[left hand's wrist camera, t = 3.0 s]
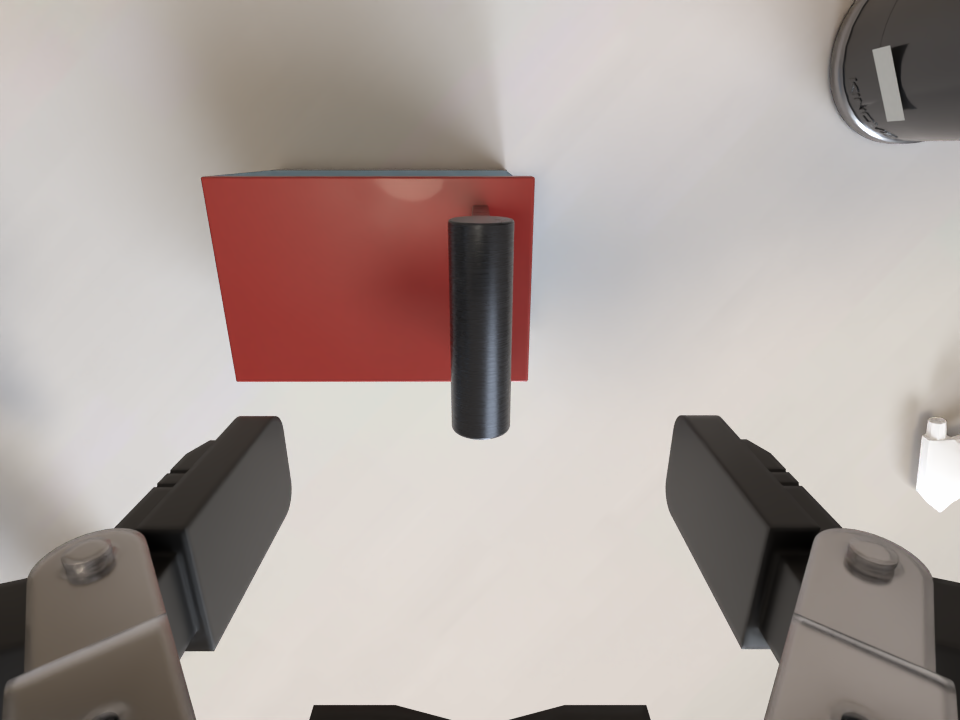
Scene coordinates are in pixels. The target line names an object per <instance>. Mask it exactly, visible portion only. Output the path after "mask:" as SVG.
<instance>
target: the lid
mask: <svg viewBox="0 0 960 720" xmlns="http://www.w3.org/2000/svg"><path fill="white" fill-rule="evenodd" d="M201 181H202V187H203V193H204V198H205V204H206V210H207V216H208V221H209V227H210V233H211V238H212V244H213V250H214V255H215V261H216V267H217V273H218V278H219V284H220V290H221V295H222V301H223V307H224V312H225V318H226V324H227V330H228V335H229V341H230V347H231V352H232V358H233V364H234V369H235V375H236V381H238V382H370V381H451V403H452V427H453V429H454V431H455V432H456V433H457V434H459V435H461V436H463V437H466V438H470V439H479V440H483V439H492V438H496V437H499V436H501V435H503V434H505V433H506V432H507V431H508V429H509V427H510V394H511V381H527V380H528V360H529V331H530V302H531V273H532V244H533V215H534V186H535V178H534V177H532V176H205V177H201Z"/></svg>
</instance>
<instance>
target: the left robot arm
mask: <svg viewBox="0 0 960 720" xmlns="http://www.w3.org/2000/svg"><path fill="white" fill-rule="evenodd" d="M830 84H831V91H832V95H833V99H834V102H835V105H836V107H837V109H838V111H839V113H840V115H841V116H842V118H843V119H844V121H845V122H846V123H847V124H848V125H849V126H850V127H851V128H852V129H853V130H854V131H856V132H857V133H858V134H860V135H862V136H864V137H865V138H868V139H870V140H873V141H877V142H881V143H890V144H903V143H917V142H923V141H960V0H856V1H855V3H854V4H853V6H852V7H851V9H850V10H849V12H848V14H847V15H846V17H845V19H844V21H843V23H842V25H841V27H840V30H839V32H838V35H837V37H836V40H835V44H834V47H833V52H832V57H831V64H830ZM666 499H667V504H668V508H669V511H670V513H671V516H672V517H673V519H674V521H675V523H676V525H677V527H678V529H679V531H680V533H681V535H682V536H683V538H684V540H685V542H686V544H687V546H688V548H689V550H690V552H691V554H692V555H693V557H694V559H695V561H696V563H697V565H698V567H699V569H700V571H701V573H702V574H703V576H704V578H705V580H706V582H707V584H708V586H709V588H710V590H711V592H712V593H713V595H714V597H715V599H716V601H717V603H718V605H719V607H720V609H721V611H722V612H723V614H724V616H725V618H726V620H727V622H728V624H729V626H730V628H731V630H732V631H733V633H734V635H735V637H736V639H737V641H738V643H739V645H740V647H741V649H771V651H772V652H773V654H774V656H775V657H776V659H777V661H778V663H779V667H778V671H777V674H776V678H775V682H774V685H773V689H772V692H771V696H770V700H769V703H768V707H767V711H766V714H765V718H764V720H960V583H957V582H952V581H948V580H943V579H938V578H933V577H932V576H931V574H930V572H929V570H928V569H927V567H926V566H925V565H924V564H923V563H922V562H921V561H920V560H919V559H918V558H917V557H915V556H914V555H913V554H912V553H910V552H909V551H907V550H906V549H904V548H903V547H901V546H899V545H897V544H895V543H894V542H891V541H889V540H887V539H885V538H882V537H880V536H877V535H874V534H871V533H868V532H864V531H859V530H855V529H847V528H842V527H841V526H840V525H839V524H838V523H837V522H836V521H835V520H834V519H833V518H832V517H831V516H830V515H829V514H828V513H827V511H826V510H825V509H824V508H823V507H822V506H821V505H820V504H819V503H818V502H817V501H816V500H815V499H814V498H813V497H812V496H811V495H810V494H809V493H808V492H807V491H806V490H805V489H804V488H803V487H802V486H799V482H798V481H797V480H796V479H795V478H794V477H793V476H792V475H791V474H790V473H789V472H786V469H785V468H784V467H783V466H782V465H781V464H780V463H779V462H778V461H777V460H776V459H775V457H774V456H773V455H772V454H771V453H769V452H768V451H766V450H764V449H762V448H761V447H759V446H757V445H755V444H754V443H752V442H750V441H748V440H747V439H740V438H739V437H738V436H737V435H736V434H735V433H734V431H733V430H732V429H731V428H730V427H729V426H728V425H727V424H726V423H725V421H724V420H723V419H722V418H721V417H720V416H716V415H681V416H679V417H678V418H677V419H676V421H675V425H674V430H673V436H672V443H671V450H670V457H669V464H668V471H667V478H666ZM290 501H291V478H290V471H289V464H288V458H287V451H286V444H285V437H284V430H283V425H282V422H281V420H280V419H279V418H278V417H277V416H239V417H237V418H236V419H235V420H234V421H233V422H232V423H231V424H230V425H229V426H228V427H227V429H226V430H225V431H224V432H223V433H222V434H221V435H220V436H219V437H218V438H217V439H216V440H210V441H208V442H206V443H205V444H203V445H201V446H199V447H198V448H196V449H194V450H192V451H191V452H189V453H187V454H186V455H185V456H184V457H183V458H182V459H181V460H180V461H179V462H178V463H177V464H176V465H175V466H174V467H173V468H172V469H171V470H170V474H166V475H165V476H164V477H163V478H162V479H161V480H160V481H159V483H158V484H157V487H154V488H153V489H152V490H151V491H150V492H149V493H148V494H147V495H146V496H145V497H144V498H143V499H142V500H141V501H140V502H139V503H138V504H137V505H136V506H135V507H134V508H133V509H132V510H131V511H130V512H129V513H128V514H127V515H126V516H125V518H124V519H123V520H122V521H121V522H120V523H119V524H118V525H117V526H116V527H115V528H113V529H105V530H101V531H96V532H92V533H89V534H86V535H83V536H80V537H78V538H75V539H73V540H71V541H69V542H66V543H65V544H63V545H61V546H59V547H57V548H56V549H54V550H53V551H51V552H50V553H48V554H47V555H46V556H45V557H43V558H42V559H41V560H40V561H39V562H38V563H37V564H36V565H35V566H34V567H33V569H32V570H31V572H30V574H29V576H28V578H26V579H21V580H16V581H12V582H7V583H2V584H0V720H196V718H195V714H194V711H193V707H192V703H191V700H190V696H189V692H188V689H187V685H186V682H185V678H184V674H183V671H182V667H181V664H180V658H181V657H182V655H183V653H184V652H185V651H214V650H215V648H216V646H217V644H218V643H219V641H220V639H221V637H222V635H223V633H224V631H225V629H226V628H227V626H228V624H229V622H230V620H231V618H232V616H233V614H234V613H235V611H236V609H237V607H238V605H239V603H240V601H241V599H242V598H243V596H244V594H245V592H246V590H247V588H248V586H249V584H250V582H251V581H252V579H253V577H254V575H255V573H256V571H257V569H258V567H259V566H260V564H261V562H262V560H263V558H264V556H265V554H266V552H267V551H268V549H269V547H270V545H271V543H272V541H273V539H274V537H275V536H276V534H277V532H278V530H279V528H280V526H281V524H282V522H283V521H284V519H285V517H286V515H287V512H288V510H289V506H290ZM310 720H449V719H445V718H442V717H438V716H434V715H430V714H427V713H423V712H419V711H415V710H412V709H408V708H404V707H400V706H397V705H314V706H313V710H312V713H311V716H310ZM511 720H650V716H649V713H648V710H647V706H646V705H563V706H560V707H556V708H552V709H548V710H545V711H541V712H537V713H533V714H530V715H526V716H522V717H518V718H515V719H511Z"/></svg>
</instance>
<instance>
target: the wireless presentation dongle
mask: <svg viewBox="0 0 960 720" xmlns="http://www.w3.org/2000/svg"><path fill="white" fill-rule="evenodd" d="M916 490H917V491H918V492H919V494H920V495H921V496H922V497H923V498H924V499H925V501H926V502H927V503H929V504H930V505H931V506H932V507H934V508H935V509H936V510H937V511H939V512H942V511H943V510H944V509H945V508H946V507H948V506H949V505H950V504H951V503H952V502H954V501H956V500H958V499H960V435H957V436H953V437H950V436H948V435H947V424H946V420H945V419H943V418H941V417H931V418H929V419H928V423H927V431H926V434H924V435H922V440H921V449H920V458H919V467H918V476H917V485H916Z"/></svg>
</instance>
